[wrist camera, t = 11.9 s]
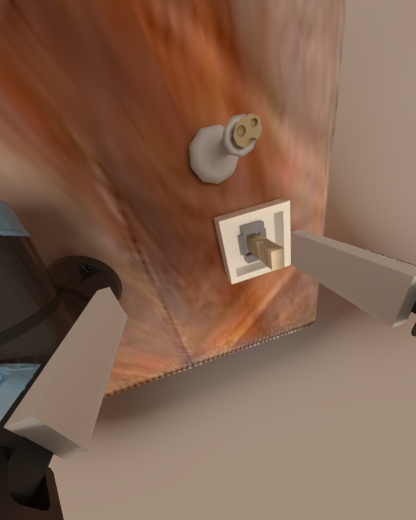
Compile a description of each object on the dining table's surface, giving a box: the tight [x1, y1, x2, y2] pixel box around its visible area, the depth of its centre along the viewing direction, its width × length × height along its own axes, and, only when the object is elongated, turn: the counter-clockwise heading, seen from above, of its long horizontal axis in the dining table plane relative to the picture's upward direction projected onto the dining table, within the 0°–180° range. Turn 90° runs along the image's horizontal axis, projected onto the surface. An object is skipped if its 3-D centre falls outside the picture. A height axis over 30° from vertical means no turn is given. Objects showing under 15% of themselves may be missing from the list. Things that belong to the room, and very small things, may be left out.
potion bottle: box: [189, 113, 263, 184], centre depth 23 cm, size 9×9×18 cm
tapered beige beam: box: [246, 233, 284, 271], centre depth 34 cm, size 2×4×11 cm, turn 14°
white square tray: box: [214, 199, 291, 284], centre depth 38 cm, size 16×16×4 cm
